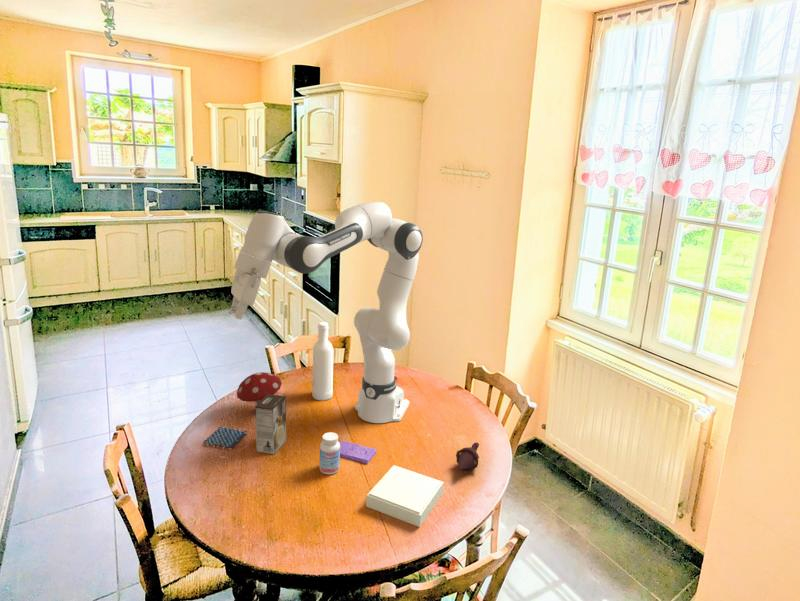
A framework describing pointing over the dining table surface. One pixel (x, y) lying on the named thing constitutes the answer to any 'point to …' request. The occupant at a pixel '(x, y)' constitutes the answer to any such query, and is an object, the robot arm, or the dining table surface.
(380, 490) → the base block
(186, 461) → the dining table surface
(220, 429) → the woven mat
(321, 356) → the bottle
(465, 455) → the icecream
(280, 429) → the coffee box
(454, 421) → the dining table surface
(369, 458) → the sponges
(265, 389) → the decorative mushroom
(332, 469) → the pill bottle
